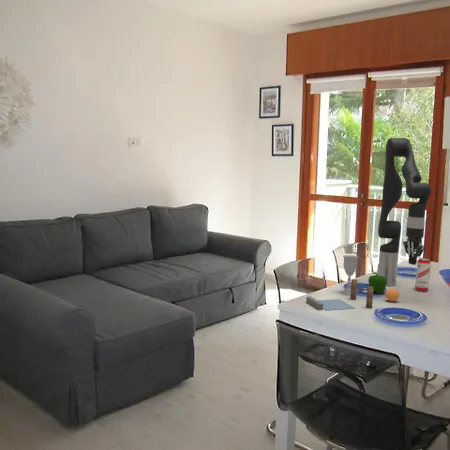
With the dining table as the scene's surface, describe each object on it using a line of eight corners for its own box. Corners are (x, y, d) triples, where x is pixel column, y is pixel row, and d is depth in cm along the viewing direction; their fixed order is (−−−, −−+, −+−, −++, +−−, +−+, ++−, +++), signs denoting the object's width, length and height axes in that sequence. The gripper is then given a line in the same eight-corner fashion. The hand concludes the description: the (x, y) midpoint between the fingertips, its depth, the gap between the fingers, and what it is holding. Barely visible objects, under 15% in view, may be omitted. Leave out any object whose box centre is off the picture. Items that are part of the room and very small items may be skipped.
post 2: (364, 306, 218) (366, 286, 217) (369, 306, 219) (371, 286, 217) (368, 308, 215) (369, 288, 214) (373, 308, 216) (374, 287, 215)
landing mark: (311, 301, 224) (311, 300, 224) (339, 299, 228) (339, 299, 228) (326, 310, 211) (326, 309, 211) (355, 308, 215) (355, 308, 215)
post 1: (349, 298, 230) (350, 279, 229) (354, 298, 231) (355, 279, 230) (352, 299, 228) (353, 280, 227) (357, 299, 229) (358, 280, 227)
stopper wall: (306, 302, 222) (306, 296, 222) (310, 301, 223) (310, 296, 222) (318, 310, 211) (318, 304, 210) (322, 309, 211) (323, 304, 211)
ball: (382, 299, 230) (383, 287, 229) (393, 299, 231) (394, 286, 231) (389, 303, 224) (390, 290, 223) (401, 302, 226) (402, 289, 225)
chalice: (356, 292, 241) (359, 255, 239) (355, 295, 235) (358, 258, 233) (341, 290, 244) (343, 254, 241) (339, 294, 237) (342, 257, 235)
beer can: (429, 292, 245) (432, 260, 243) (416, 291, 246) (418, 259, 244) (427, 289, 251) (429, 258, 249) (413, 288, 252) (416, 257, 250)
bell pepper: (386, 291, 245) (388, 271, 243) (384, 295, 237) (386, 275, 236) (369, 289, 248) (370, 269, 247) (366, 293, 241) (368, 272, 239)
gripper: (399, 224, 231) (396, 261, 234) (418, 229, 218) (414, 267, 221) (412, 224, 233) (409, 261, 236) (432, 228, 221) (429, 267, 223)
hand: (412, 264), depth 228 cm, fingers closed
